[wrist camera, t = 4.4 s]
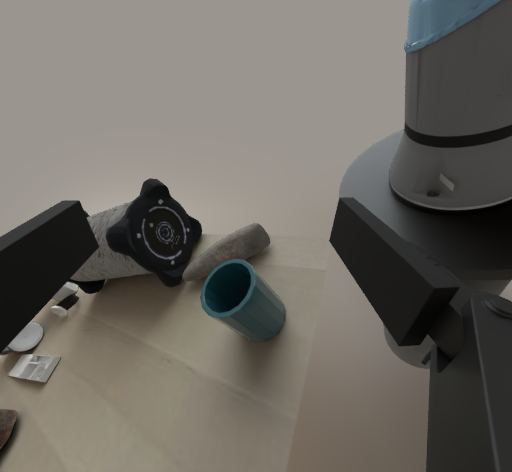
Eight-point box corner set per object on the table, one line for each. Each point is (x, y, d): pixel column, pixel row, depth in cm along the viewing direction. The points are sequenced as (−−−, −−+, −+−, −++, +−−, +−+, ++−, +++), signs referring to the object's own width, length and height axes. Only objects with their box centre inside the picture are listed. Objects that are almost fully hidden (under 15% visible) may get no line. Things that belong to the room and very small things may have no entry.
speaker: (158, 170, 37) (208, 226, 47) (70, 206, 50) (125, 245, 60) (108, 238, 28) (183, 291, 38) (15, 262, 40) (91, 297, 50)
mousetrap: (61, 357, 42) (49, 355, 41) (46, 382, 40) (33, 380, 38) (23, 354, 49) (11, 352, 47) (8, 375, 46) (-5, 373, 45)
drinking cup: (283, 288, 30) (255, 253, 24) (287, 339, 26) (254, 311, 20) (241, 297, 32) (205, 266, 26) (238, 345, 28) (195, 322, 22)
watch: (58, 301, 47) (70, 314, 48) (79, 288, 52) (89, 300, 53) (41, 312, 50) (53, 323, 51) (62, 299, 54) (72, 310, 55)
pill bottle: (48, 340, 50) (22, 345, 54) (38, 316, 50) (13, 323, 54) (13, 358, 44) (-14, 362, 48) (1, 331, 44) (-24, 337, 48)
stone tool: (177, 264, 39) (196, 283, 41) (172, 275, 36) (192, 295, 38) (255, 213, 36) (271, 236, 38) (257, 221, 33) (274, 245, 35)
